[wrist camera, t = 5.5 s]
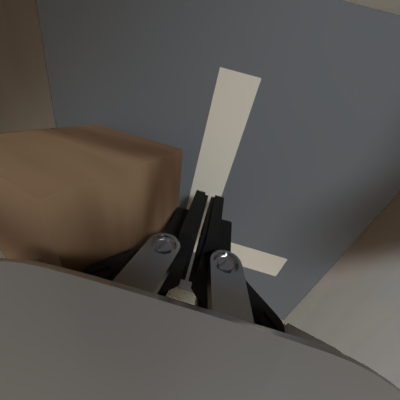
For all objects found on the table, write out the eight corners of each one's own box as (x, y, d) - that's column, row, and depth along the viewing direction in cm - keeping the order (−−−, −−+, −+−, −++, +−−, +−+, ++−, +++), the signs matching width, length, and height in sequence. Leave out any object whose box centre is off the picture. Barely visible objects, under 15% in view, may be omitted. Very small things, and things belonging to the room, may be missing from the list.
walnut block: (97, 123, 11) (-61, 139, 7) (183, 149, 9) (38, 200, 4) (109, 208, 14) (7, 260, 10) (175, 243, 12) (85, 331, 7)
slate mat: (34, -73, 8) (22, -82, 8) (512, 51, 8) (529, 48, 7) (80, 252, 18) (76, 256, 18) (282, 314, 18) (284, 319, 17)
